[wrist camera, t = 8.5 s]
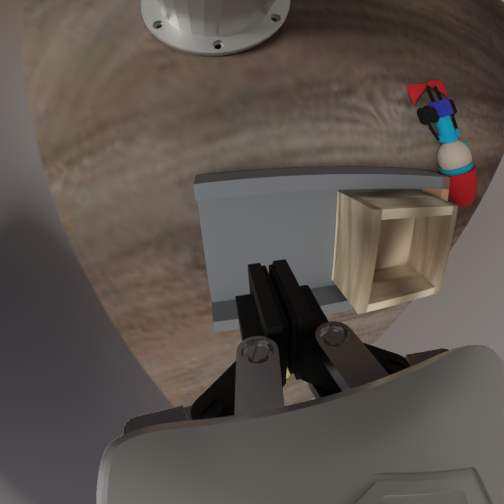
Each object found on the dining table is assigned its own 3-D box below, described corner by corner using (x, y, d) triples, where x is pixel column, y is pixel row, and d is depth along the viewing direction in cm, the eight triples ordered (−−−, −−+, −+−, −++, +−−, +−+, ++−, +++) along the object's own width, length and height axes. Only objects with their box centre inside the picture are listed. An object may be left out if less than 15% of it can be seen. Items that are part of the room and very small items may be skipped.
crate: (331, 279, 27) (358, 314, 21) (337, 190, 23) (373, 209, 18) (406, 265, 28) (438, 292, 23) (418, 189, 24) (458, 206, 19)
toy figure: (392, 90, 22) (435, 215, 26) (421, 79, 18) (465, 221, 22) (430, 82, 23) (466, 192, 27) (457, 73, 18) (494, 196, 22)
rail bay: (213, 305, 27) (215, 332, 24) (195, 175, 22) (193, 184, 18) (409, 273, 30) (428, 289, 26) (424, 169, 25) (450, 177, 21)
